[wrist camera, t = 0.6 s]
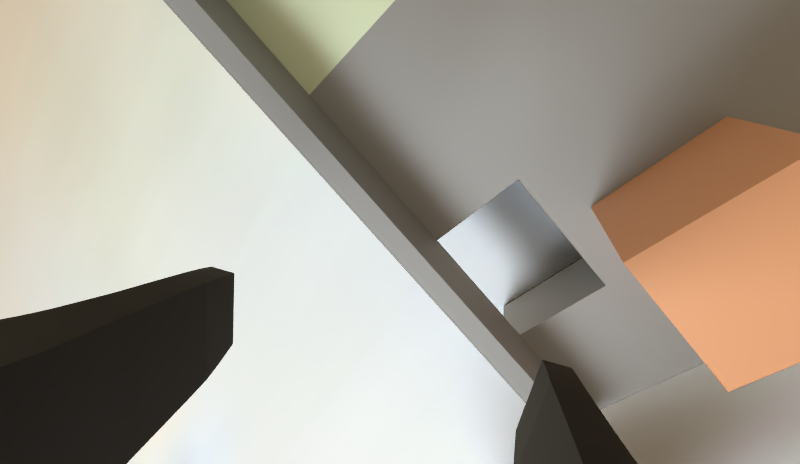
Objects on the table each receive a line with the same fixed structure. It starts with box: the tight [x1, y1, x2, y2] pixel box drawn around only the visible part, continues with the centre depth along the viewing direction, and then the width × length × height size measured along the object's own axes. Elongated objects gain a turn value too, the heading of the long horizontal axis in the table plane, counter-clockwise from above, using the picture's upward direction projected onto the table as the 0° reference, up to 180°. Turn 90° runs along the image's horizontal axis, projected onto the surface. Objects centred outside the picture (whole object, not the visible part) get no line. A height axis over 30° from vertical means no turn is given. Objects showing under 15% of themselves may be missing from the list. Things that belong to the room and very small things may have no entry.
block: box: [591, 116, 800, 392], centre depth 12 cm, size 4×4×4 cm
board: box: [163, 0, 800, 409], centre depth 13 cm, size 23×16×6 cm
